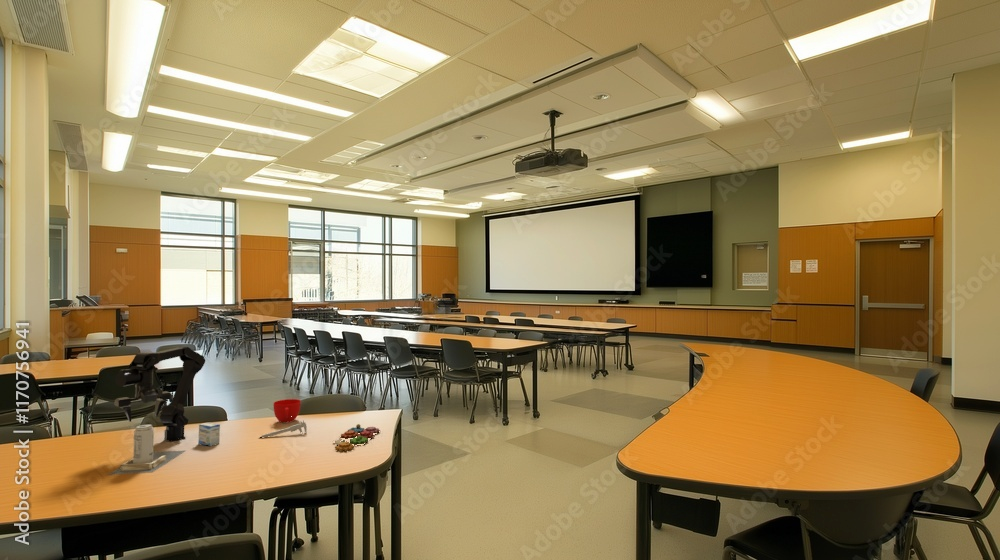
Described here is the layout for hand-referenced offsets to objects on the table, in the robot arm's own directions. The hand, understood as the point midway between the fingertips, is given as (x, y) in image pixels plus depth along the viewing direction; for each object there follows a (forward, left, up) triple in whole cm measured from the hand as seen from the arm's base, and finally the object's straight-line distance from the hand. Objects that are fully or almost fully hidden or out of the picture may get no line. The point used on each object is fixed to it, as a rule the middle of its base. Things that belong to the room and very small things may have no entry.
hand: (143, 419), depth 196 cm
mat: (+4, +20, -13) cm, 24 cm away
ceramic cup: (-59, +9, -13) cm, 61 cm away
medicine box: (-20, +14, -13) cm, 28 cm away
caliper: (-46, +29, -14) cm, 56 cm away
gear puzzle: (-60, +62, -14) cm, 87 cm away
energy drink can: (+7, +22, -13) cm, 26 cm away
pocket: (+7, +22, -13) cm, 26 cm away
